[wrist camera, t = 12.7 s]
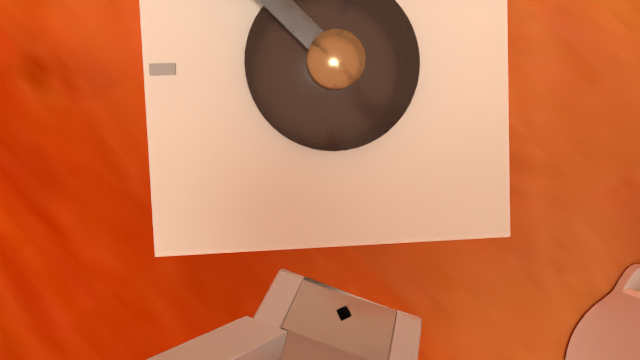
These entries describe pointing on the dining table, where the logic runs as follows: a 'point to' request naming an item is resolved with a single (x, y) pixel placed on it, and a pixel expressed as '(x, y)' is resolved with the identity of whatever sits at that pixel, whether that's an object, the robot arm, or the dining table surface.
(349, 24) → the dial
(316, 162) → the dial board
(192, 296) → the dining table surface
